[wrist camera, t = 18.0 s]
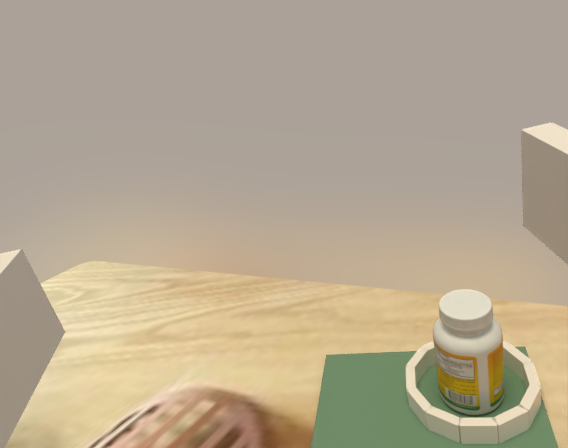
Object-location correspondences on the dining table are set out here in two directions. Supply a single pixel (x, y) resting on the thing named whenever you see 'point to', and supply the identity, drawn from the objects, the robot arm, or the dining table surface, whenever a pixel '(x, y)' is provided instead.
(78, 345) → the dining table surface
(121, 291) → the dining table surface
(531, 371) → the segmented ring wall
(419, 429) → the putting mat
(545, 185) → the robot arm
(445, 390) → the supplement bottle
